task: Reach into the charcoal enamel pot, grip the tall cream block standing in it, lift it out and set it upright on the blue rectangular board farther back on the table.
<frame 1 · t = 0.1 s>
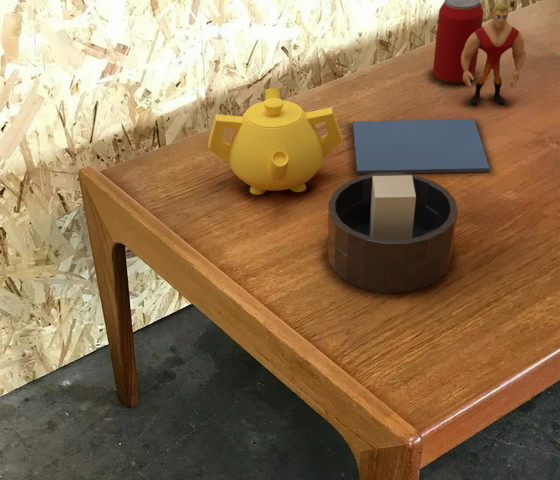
beverage can: (453, 77, 129), on the table
action figure: (486, 102, 123), on the table
blue rectangular board: (417, 147, 114), on the table
item: (389, 251, 95), point 1 cm above the table, touching pot
pot: (388, 255, 96), on the table
teapot: (276, 179, 109), on the table
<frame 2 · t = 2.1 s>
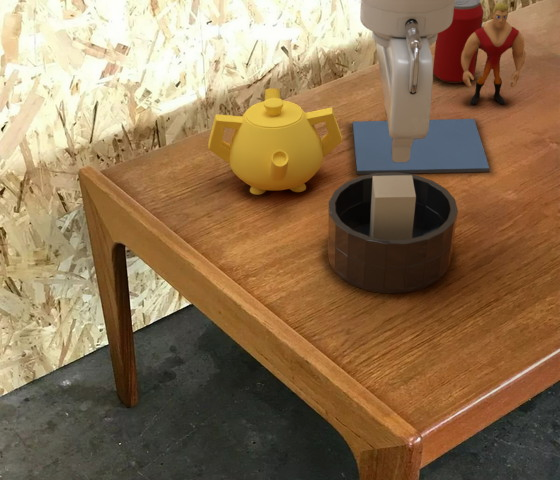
hand: (396, 136, 85), 16 cm above the table, tool pointing down, fingers open, 8 cm apart
nothing on the table moved.
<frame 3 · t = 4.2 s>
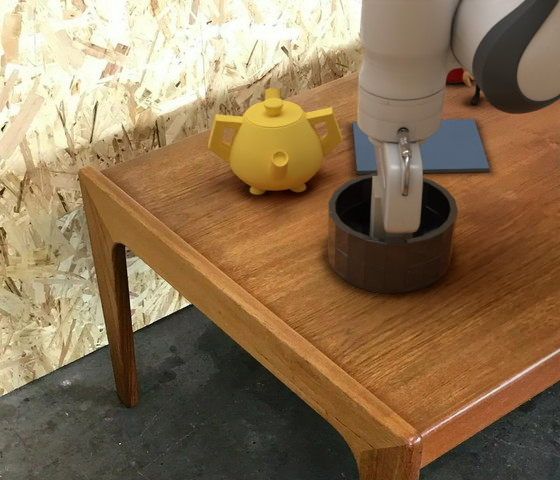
hand: (391, 219, 92), 5 cm above the table, tool pointing down, fingers closed on item, 4 cm apart
item: (389, 251, 95), point 1 cm above the table, touching gripper, pot
everything else where it was.
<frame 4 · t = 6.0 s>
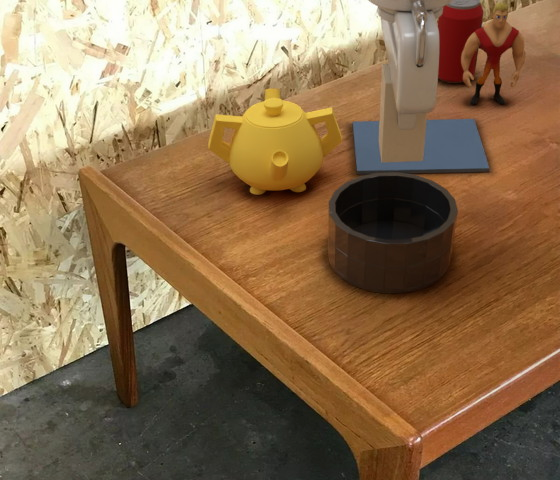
hand: (403, 112, 85), 17 cm above the table, tool pointing down, fingers closed on item, 4 cm apart
item: (400, 151, 88), point 13 cm above the table, touching gripper
everything else where it was.
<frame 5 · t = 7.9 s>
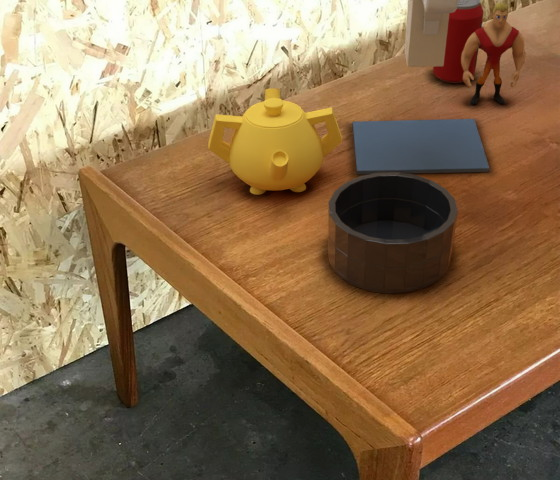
hand: (427, 23, 98), 19 cm above the table, tool pointing down, fingers closed on item, 4 cm apart
item: (423, 59, 101), point 14 cm above the table, touching gripper
everything else where it was.
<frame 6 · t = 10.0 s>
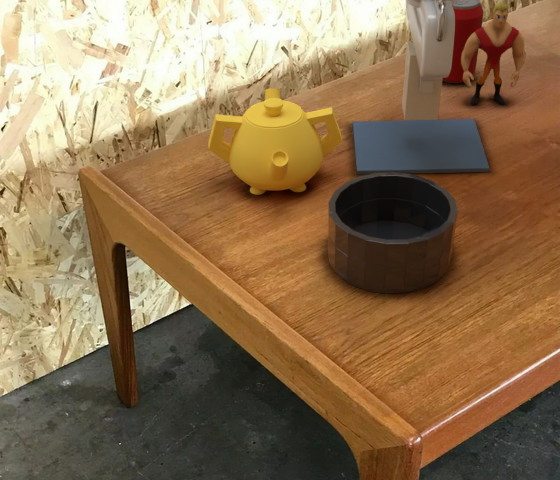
hand: (423, 80, 107), 10 cm above the table, tool pointing down, fingers closed on item, 4 cm apart
item: (419, 112, 110), point 5 cm above the table, touching gripper
everything else where it was.
when the fingers open (5 cm above the table, at t = 11.6 s): item stays where it is, resting on blue rectangular board.
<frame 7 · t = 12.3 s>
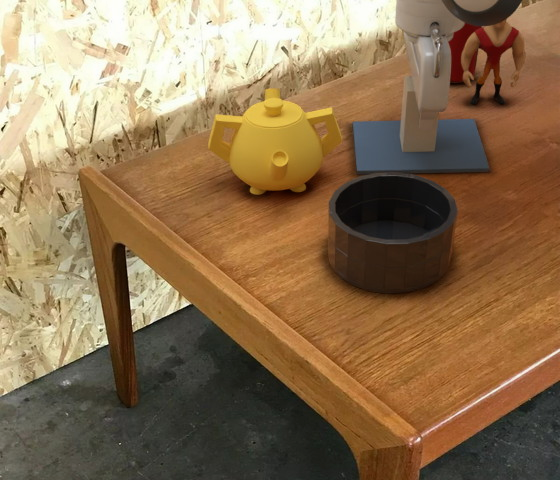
hand: (421, 111, 110), 5 cm above the table, tool pointing down, fingers open, 8 cm apart
item: (416, 143, 113), point 1 cm above the table, touching blue rectangular board
everything else where it was.
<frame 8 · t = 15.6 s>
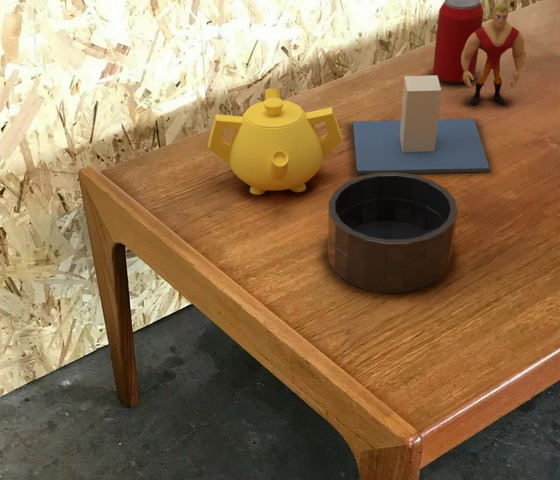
nothing on the table moved.
at the end: item inside the target area on the blue rectangular board (0.2 cm from its centre), point 0.6 cm above the blue rectangular board's base; item tilted 0°; the gripper is holding nothing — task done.
